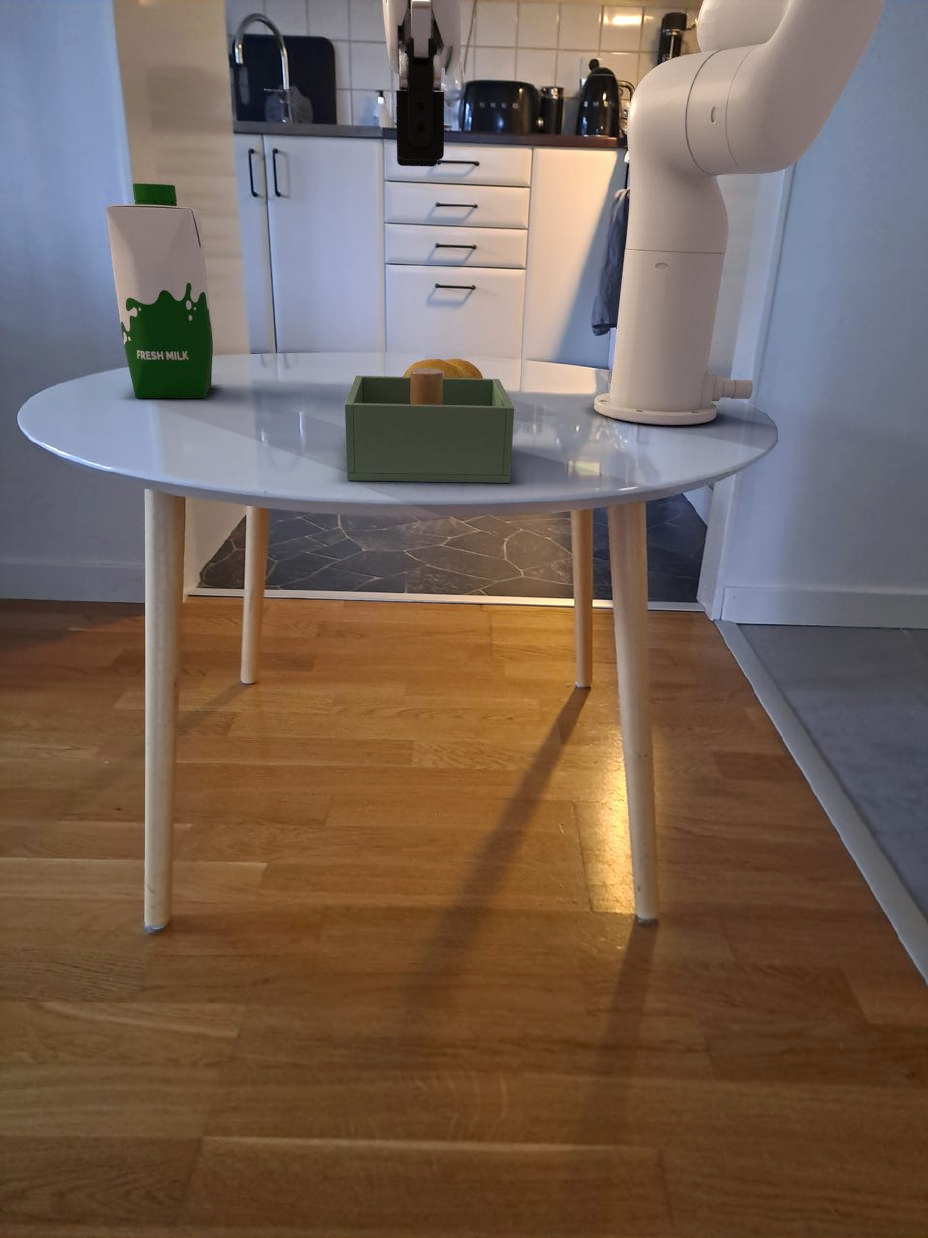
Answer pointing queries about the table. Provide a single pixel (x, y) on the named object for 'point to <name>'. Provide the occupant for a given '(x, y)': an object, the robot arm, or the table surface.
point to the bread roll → (448, 368)
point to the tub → (428, 432)
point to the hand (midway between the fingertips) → (418, 162)
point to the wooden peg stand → (426, 386)
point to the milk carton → (162, 294)
